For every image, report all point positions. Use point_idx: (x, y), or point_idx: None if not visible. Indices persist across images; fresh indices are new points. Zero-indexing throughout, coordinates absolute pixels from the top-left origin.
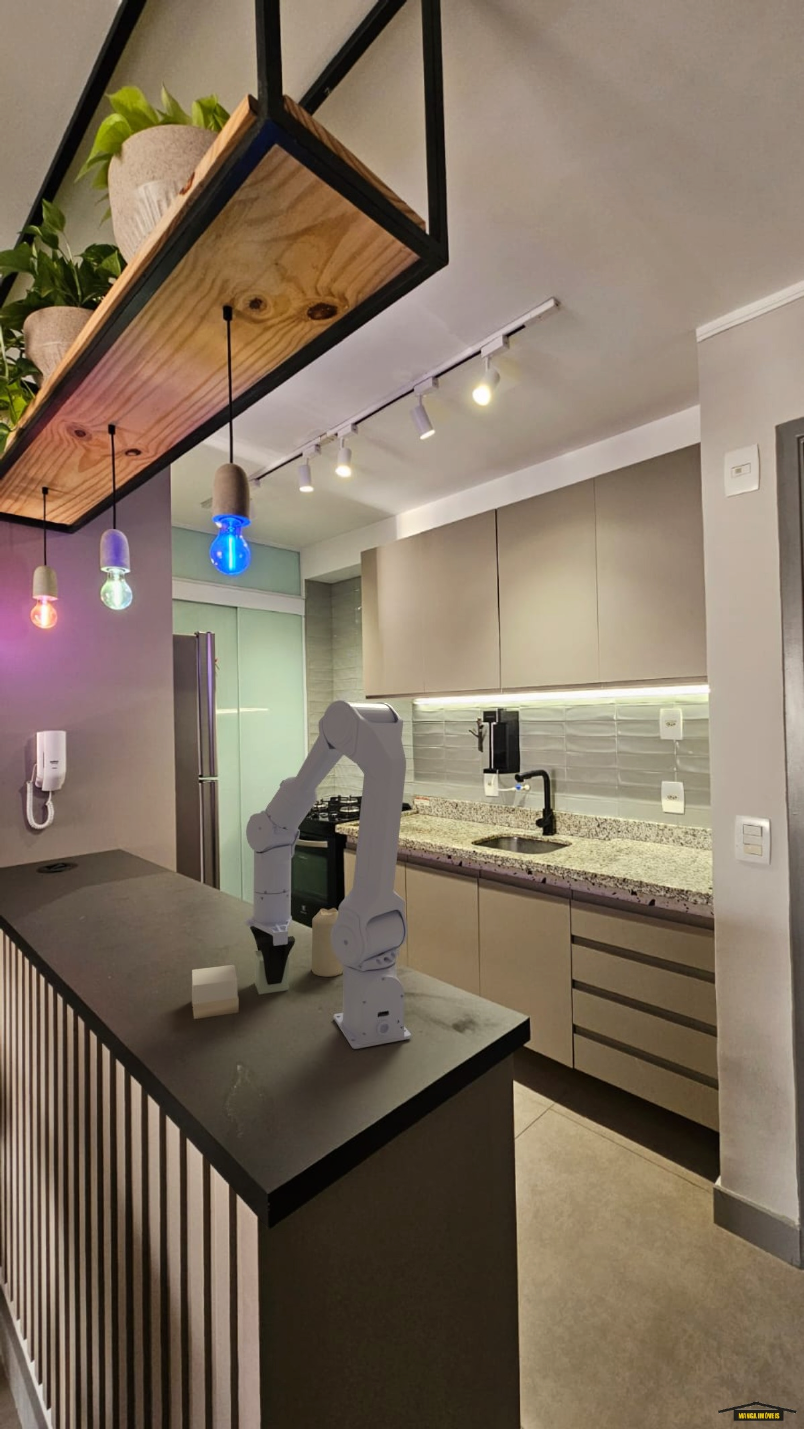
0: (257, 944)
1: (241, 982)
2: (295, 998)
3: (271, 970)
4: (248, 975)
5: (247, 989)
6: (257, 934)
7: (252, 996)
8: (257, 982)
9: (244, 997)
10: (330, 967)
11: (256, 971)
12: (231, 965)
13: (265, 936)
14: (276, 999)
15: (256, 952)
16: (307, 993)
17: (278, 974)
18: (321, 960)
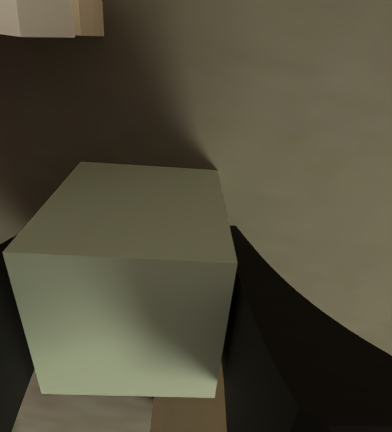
0: (253, 315)
1: (255, 114)
2: None
3: None
4: (321, 163)
5: (155, 124)
6: (272, 404)
7: (63, 128)
8: (122, 178)
9: (60, 88)
10: (152, 416)
11: (153, 200)
12: (4, 3)
13: (248, 421)
14: (8, 213)
15: (200, 268)
16: None
17: None
18: (164, 425)
